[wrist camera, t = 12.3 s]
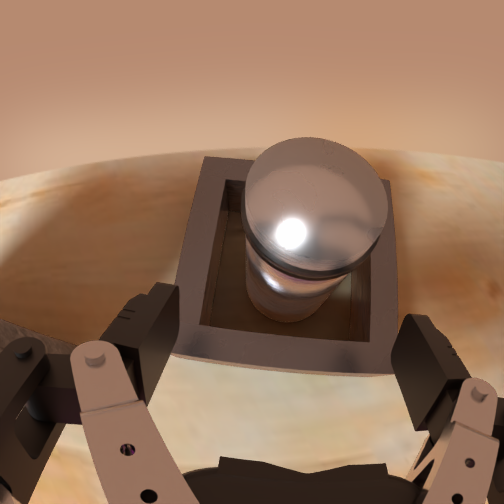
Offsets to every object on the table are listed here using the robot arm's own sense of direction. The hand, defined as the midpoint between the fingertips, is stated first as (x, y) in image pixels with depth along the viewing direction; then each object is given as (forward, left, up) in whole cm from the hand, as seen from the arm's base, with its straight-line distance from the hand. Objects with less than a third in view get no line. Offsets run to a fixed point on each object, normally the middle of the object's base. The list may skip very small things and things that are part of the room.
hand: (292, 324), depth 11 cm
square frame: (0, -4, -7) cm, 8 cm away
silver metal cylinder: (0, -4, -7) cm, 8 cm away
